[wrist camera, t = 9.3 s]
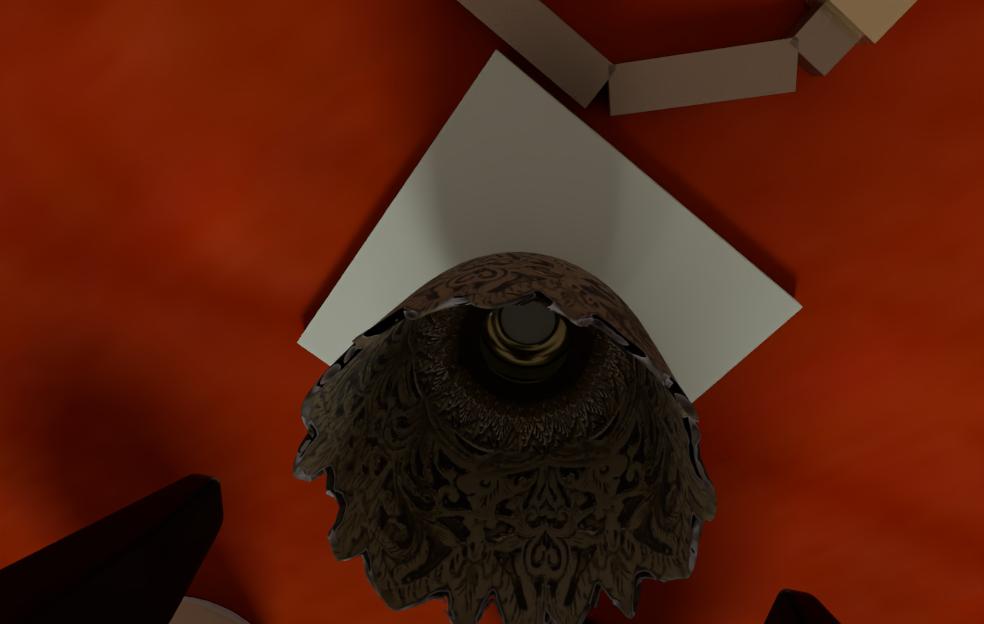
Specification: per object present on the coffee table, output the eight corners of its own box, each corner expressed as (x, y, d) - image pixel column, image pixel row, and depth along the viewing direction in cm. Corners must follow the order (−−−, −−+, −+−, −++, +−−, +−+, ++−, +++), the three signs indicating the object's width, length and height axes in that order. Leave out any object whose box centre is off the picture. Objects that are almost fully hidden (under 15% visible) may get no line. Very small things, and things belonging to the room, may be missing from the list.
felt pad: (795, 299, 16) (802, 307, 16) (554, 510, 21) (553, 522, 20) (498, 50, 15) (495, 49, 14) (304, 334, 19) (296, 342, 19)
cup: (665, 408, 18) (731, 644, 10) (443, 433, 19) (365, 654, 12) (636, 172, 15) (698, 267, 8) (381, 222, 16) (230, 341, 9)
